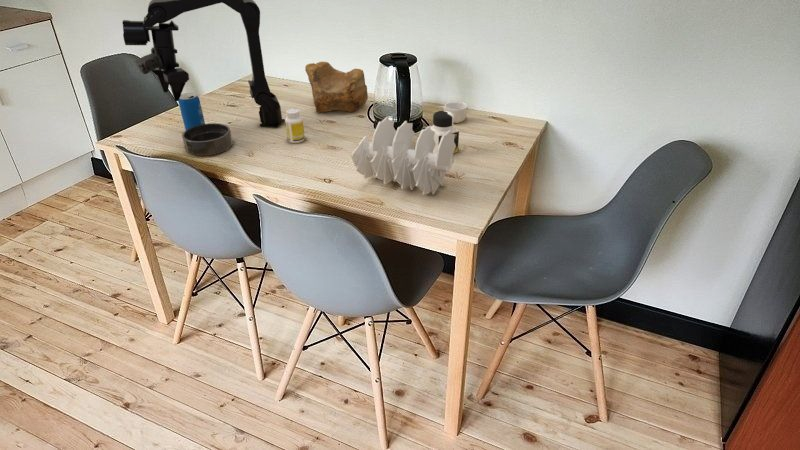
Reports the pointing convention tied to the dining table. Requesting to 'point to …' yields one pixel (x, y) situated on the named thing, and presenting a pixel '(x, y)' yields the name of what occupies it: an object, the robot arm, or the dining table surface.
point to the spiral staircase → (405, 156)
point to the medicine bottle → (444, 127)
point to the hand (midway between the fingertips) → (171, 96)
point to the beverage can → (191, 110)
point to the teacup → (456, 110)
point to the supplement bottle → (294, 126)
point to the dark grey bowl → (207, 139)
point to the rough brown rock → (336, 87)
